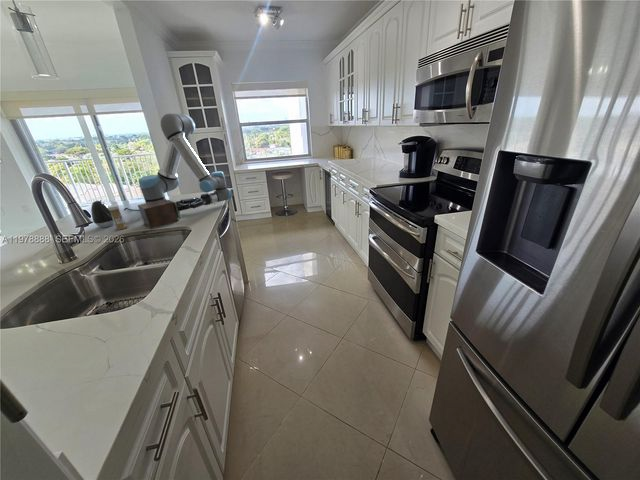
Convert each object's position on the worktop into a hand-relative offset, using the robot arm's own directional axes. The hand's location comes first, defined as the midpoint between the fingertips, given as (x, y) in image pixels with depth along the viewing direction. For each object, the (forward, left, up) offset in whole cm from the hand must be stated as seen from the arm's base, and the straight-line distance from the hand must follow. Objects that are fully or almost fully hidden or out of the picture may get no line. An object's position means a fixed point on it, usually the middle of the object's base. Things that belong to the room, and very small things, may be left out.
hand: (174, 207), depth 155 cm
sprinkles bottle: (-22, -19, -7) cm, 30 cm away
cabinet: (-5, -8, -7) cm, 12 cm away
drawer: (-2, -4, -6) cm, 7 cm away
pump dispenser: (-36, -16, -7) cm, 40 cm away
